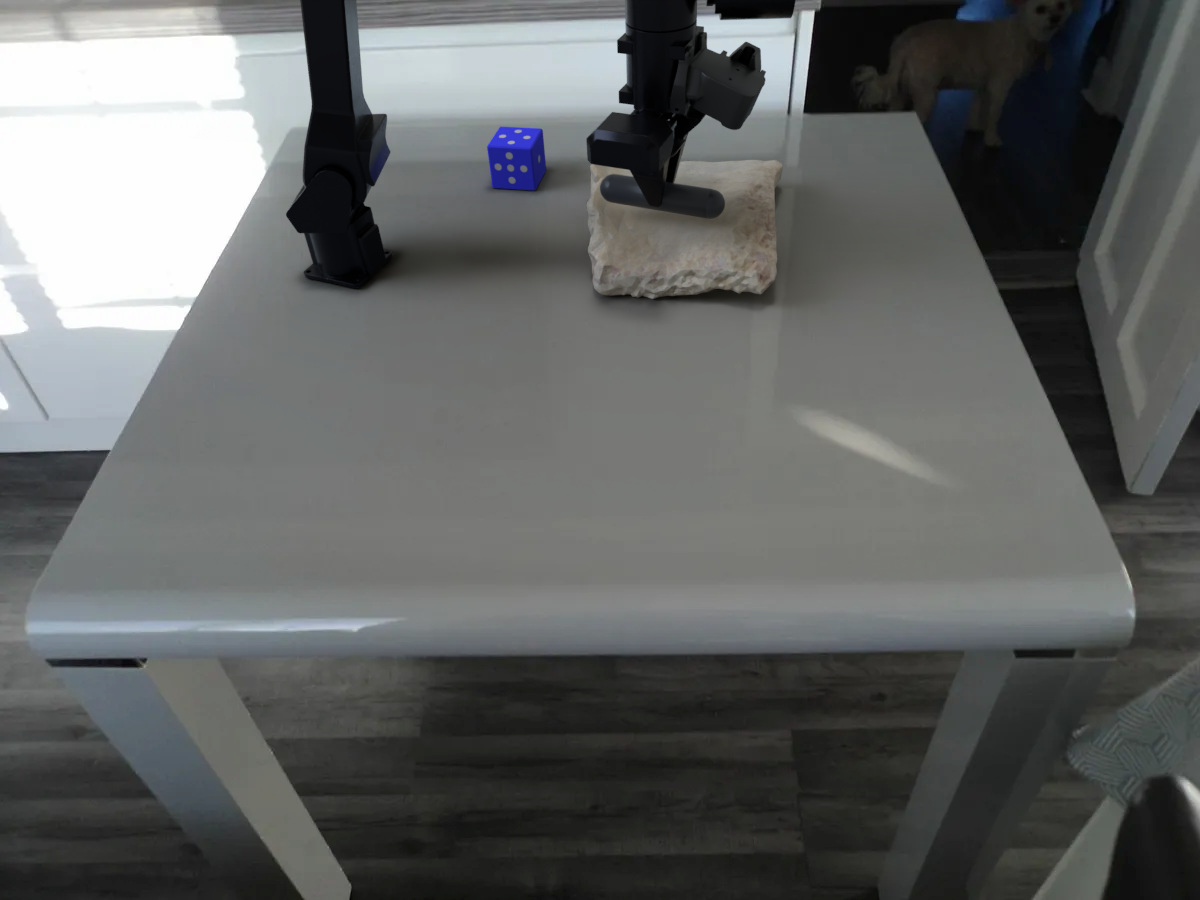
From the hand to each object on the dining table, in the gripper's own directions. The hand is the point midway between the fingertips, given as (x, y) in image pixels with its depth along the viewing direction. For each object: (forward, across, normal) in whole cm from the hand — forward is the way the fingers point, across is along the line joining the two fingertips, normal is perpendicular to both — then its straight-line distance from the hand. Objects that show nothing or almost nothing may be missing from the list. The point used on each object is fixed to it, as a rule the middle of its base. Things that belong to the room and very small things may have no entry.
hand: (660, 198), depth 83 cm
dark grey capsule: (+1, 0, 0) cm, 1 cm away
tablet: (+7, +6, 0) cm, 9 cm away
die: (+7, +12, +21) cm, 25 cm away
